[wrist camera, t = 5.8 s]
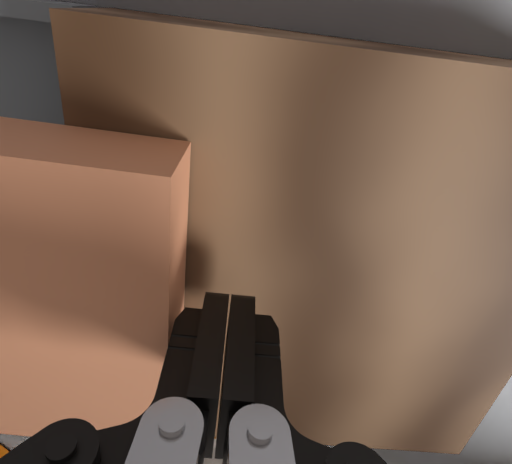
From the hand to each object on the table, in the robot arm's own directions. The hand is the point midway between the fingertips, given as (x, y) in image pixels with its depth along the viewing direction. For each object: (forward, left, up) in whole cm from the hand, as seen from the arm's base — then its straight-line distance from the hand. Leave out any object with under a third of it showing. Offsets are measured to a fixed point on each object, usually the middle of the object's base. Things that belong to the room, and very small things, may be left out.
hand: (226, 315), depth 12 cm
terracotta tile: (+5, 0, -1) cm, 5 cm away
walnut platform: (-3, 0, -6) cm, 7 cm away
